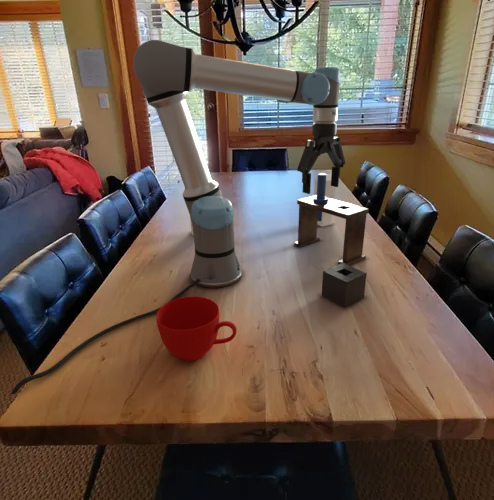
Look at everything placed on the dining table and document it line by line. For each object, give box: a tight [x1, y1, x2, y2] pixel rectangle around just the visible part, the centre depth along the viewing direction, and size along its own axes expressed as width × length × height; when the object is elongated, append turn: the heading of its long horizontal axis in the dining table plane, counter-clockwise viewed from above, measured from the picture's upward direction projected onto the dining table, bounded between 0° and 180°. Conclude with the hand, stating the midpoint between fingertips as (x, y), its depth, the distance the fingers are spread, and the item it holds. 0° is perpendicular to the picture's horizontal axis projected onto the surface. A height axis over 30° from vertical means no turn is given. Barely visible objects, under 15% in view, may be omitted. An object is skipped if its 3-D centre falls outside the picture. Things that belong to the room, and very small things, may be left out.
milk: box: [313, 169, 336, 228], centre depth 151 cm, size 6×6×22 cm
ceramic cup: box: [155, 295, 238, 362], centre depth 79 cm, size 13×17×10 cm
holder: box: [321, 263, 368, 308], centre depth 100 cm, size 8×8×8 cm
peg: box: [313, 172, 328, 221], centre depth 125 cm, size 5×5×16 cm
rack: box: [293, 195, 370, 266], centre depth 126 cm, size 10×24×17 cm, turn 38°
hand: (320, 189), depth 124 cm, fingers open, 13 cm apart
